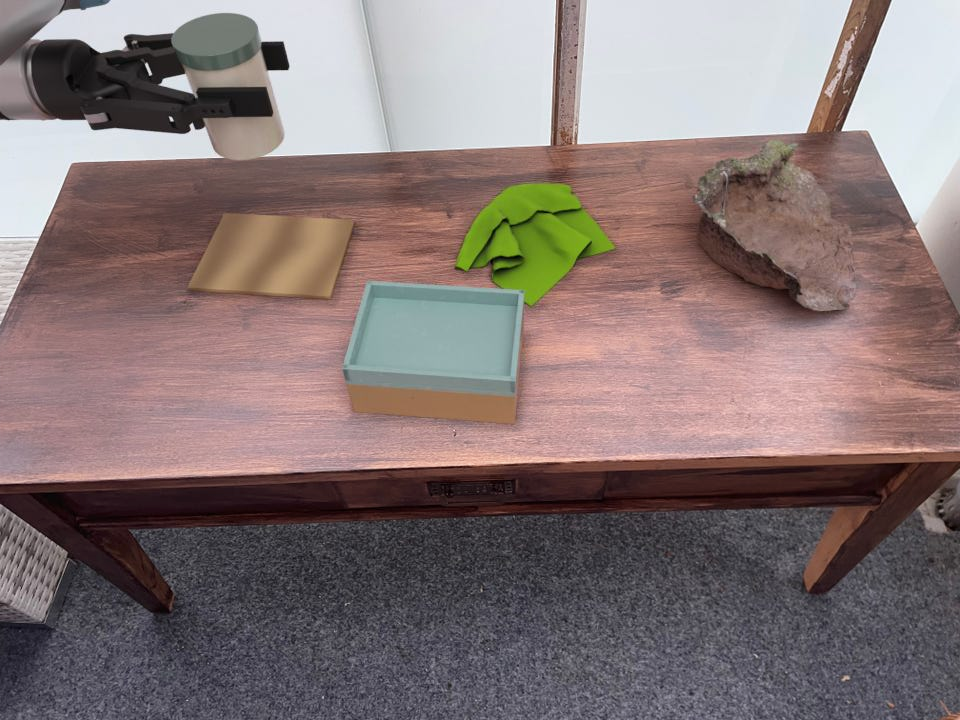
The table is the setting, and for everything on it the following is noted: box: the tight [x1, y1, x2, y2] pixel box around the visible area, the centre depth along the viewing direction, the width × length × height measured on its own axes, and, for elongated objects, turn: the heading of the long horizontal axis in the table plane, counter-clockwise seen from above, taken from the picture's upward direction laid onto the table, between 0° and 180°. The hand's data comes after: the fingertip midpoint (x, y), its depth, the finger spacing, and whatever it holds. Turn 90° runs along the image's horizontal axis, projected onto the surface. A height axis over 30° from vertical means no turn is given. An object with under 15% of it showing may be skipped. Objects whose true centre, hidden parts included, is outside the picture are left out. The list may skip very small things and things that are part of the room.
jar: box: [171, 12, 285, 161], centre depth 72 cm, size 8×8×12 cm
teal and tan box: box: [341, 280, 525, 425], centre depth 77 cm, size 17×12×8 cm
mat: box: [187, 212, 356, 300], centre depth 92 cm, size 18×14×1 cm
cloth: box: [454, 182, 617, 307], centre depth 92 cm, size 20×22×2 cm
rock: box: [692, 139, 858, 312], centre depth 87 cm, size 26×22×10 cm
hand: (277, 78), depth 71 cm, fingers closed on jar, 8 cm apart
